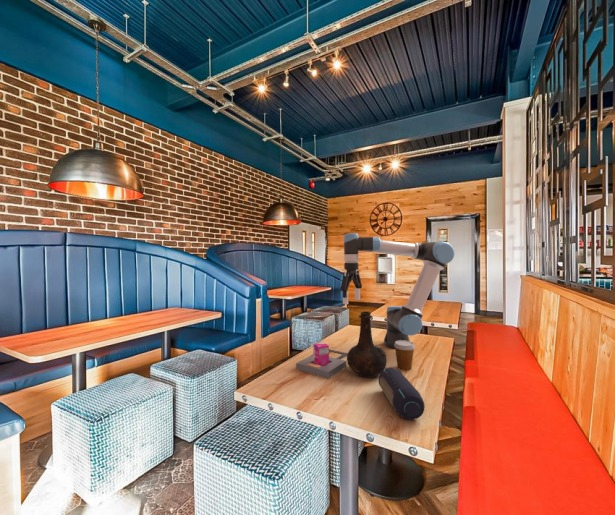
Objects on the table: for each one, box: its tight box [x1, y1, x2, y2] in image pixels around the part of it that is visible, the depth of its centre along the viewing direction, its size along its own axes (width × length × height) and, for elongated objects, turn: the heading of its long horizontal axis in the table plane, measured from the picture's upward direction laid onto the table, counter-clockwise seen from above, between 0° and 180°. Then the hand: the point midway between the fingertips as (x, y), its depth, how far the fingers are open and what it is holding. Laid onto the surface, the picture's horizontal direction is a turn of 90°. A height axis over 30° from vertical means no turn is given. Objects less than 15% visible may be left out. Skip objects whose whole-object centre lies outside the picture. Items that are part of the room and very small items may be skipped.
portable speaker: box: [378, 366, 425, 420], centre depth 108 cm, size 25×10×10 cm, turn 3°
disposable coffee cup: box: [394, 340, 416, 372], centre depth 142 cm, size 10×10×12 cm
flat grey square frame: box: [329, 348, 348, 360], centre depth 159 cm, size 15×15×1 cm
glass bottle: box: [346, 311, 388, 378], centre depth 136 cm, size 18×18×28 cm
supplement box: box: [312, 341, 330, 366], centre depth 142 cm, size 6×6×12 cm
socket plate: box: [295, 354, 347, 379], centre depth 142 cm, size 18×16×3 cm
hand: (351, 302), depth 160 cm, fingers open, 13 cm apart
